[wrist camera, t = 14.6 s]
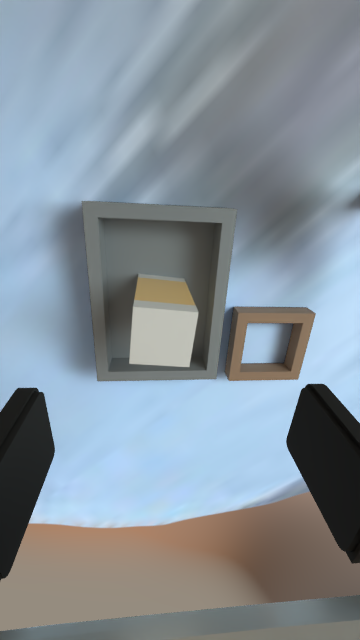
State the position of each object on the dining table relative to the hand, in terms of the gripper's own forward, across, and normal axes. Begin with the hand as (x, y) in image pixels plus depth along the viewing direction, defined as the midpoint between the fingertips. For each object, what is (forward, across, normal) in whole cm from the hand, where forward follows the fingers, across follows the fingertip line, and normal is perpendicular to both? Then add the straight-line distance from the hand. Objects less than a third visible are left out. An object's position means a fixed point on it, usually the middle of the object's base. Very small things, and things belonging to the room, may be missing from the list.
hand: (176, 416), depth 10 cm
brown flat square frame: (+16, -11, +6) cm, 20 cm away
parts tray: (+16, 0, +1) cm, 16 cm away
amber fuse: (+16, 0, +1) cm, 16 cm away
